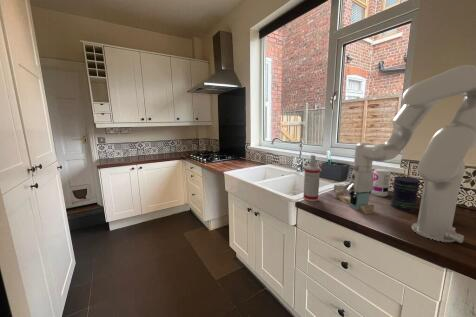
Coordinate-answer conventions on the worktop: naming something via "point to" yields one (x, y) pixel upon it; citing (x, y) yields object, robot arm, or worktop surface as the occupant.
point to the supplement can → (381, 182)
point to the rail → (339, 195)
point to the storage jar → (405, 193)
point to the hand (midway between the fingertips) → (358, 203)
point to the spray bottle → (311, 180)
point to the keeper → (360, 200)
